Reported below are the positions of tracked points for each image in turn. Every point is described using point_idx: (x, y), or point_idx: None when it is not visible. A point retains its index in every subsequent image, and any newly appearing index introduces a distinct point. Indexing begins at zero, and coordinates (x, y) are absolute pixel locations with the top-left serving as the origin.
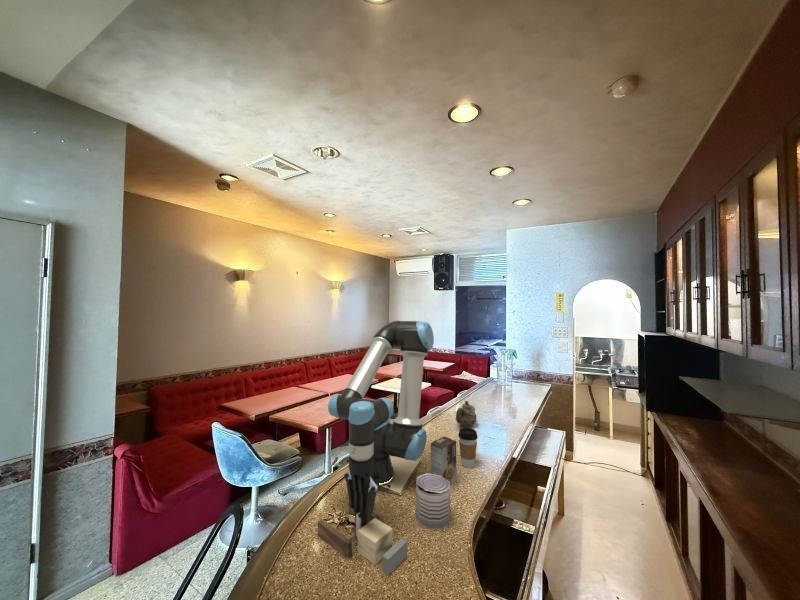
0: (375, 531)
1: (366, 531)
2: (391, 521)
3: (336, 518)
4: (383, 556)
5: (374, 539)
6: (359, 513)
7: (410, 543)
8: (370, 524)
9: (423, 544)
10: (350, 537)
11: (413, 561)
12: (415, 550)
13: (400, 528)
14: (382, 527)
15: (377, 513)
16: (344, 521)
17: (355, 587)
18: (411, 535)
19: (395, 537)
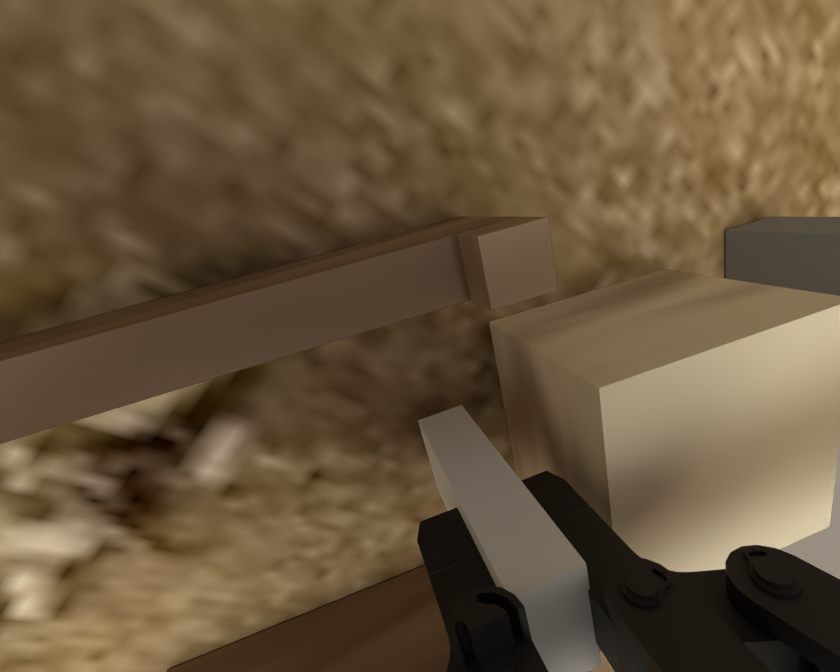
0: (753, 477)
1: (689, 553)
2: (406, 40)
3: (17, 534)
4: (838, 460)
5: (804, 521)
6: (549, 656)
7: (723, 102)
8: (643, 482)
9: (801, 13)
10: (603, 663)
11: (818, 207)
12: (785, 123)
13: (549, 37)
14: (771, 388)
15: (498, 281)
16: (117, 477)
17: None
18: (678, 18)
19: (598, 167)
